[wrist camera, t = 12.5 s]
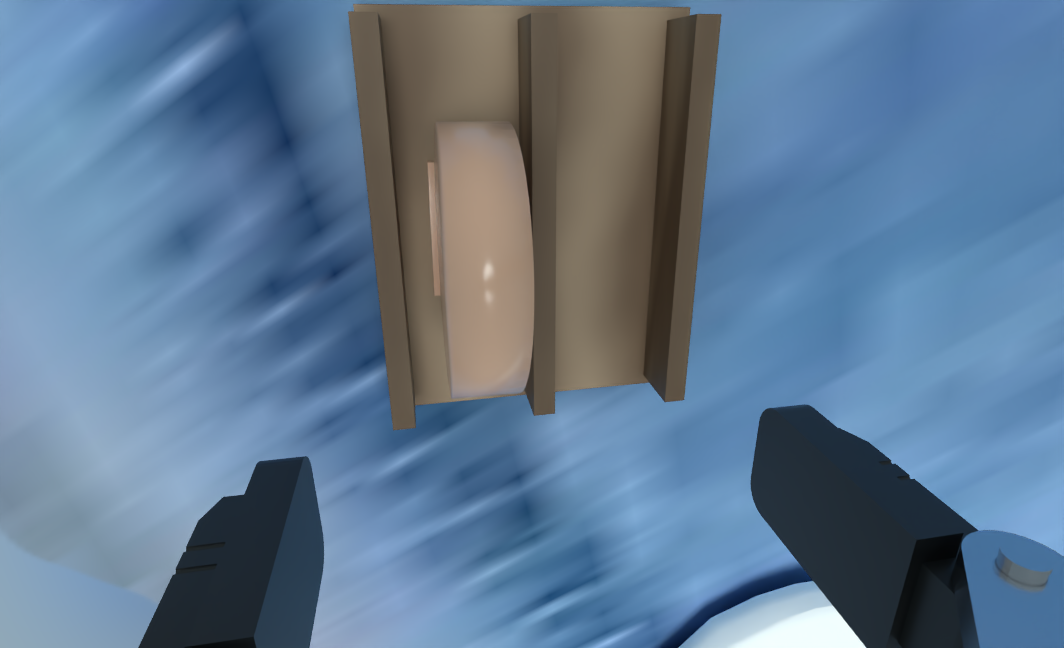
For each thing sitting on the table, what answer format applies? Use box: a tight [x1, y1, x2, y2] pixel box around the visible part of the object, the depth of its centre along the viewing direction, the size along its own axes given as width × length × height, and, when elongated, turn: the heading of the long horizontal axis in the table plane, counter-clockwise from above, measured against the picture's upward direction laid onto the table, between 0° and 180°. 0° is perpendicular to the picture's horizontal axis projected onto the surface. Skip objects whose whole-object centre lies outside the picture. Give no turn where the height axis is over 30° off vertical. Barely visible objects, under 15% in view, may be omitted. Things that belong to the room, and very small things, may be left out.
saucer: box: [427, 121, 534, 399], centre depth 23 cm, size 3×10×11 cm, turn 0°
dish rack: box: [348, 4, 721, 430], centre depth 28 cm, size 14×18×4 cm
